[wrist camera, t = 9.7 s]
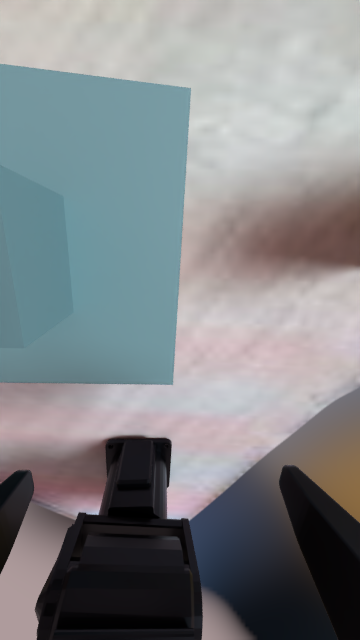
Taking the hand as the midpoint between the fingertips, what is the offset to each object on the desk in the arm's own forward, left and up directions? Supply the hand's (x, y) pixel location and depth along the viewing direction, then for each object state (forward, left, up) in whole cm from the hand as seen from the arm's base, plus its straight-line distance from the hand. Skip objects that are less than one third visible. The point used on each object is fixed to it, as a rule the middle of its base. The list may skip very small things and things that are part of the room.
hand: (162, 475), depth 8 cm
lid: (+7, +6, -6) cm, 11 cm away
